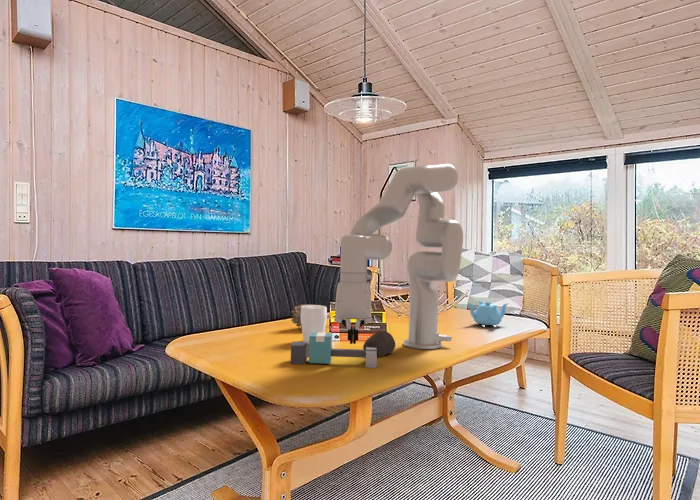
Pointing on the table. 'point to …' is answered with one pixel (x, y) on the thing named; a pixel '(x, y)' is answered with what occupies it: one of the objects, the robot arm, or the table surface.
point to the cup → (312, 320)
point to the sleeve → (320, 347)
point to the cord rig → (333, 354)
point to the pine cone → (297, 313)
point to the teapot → (487, 313)
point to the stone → (381, 343)
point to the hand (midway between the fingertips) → (352, 342)
